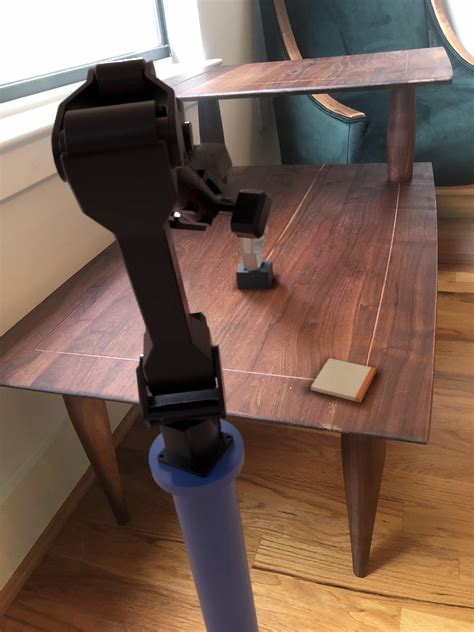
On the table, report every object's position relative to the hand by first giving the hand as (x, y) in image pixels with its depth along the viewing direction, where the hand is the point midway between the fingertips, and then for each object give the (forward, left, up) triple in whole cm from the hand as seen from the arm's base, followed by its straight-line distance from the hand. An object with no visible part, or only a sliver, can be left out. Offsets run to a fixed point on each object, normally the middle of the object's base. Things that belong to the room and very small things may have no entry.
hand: (231, 231), depth 84 cm
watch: (+6, 0, -12) cm, 14 cm away
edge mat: (-14, -23, -12) cm, 30 cm away
